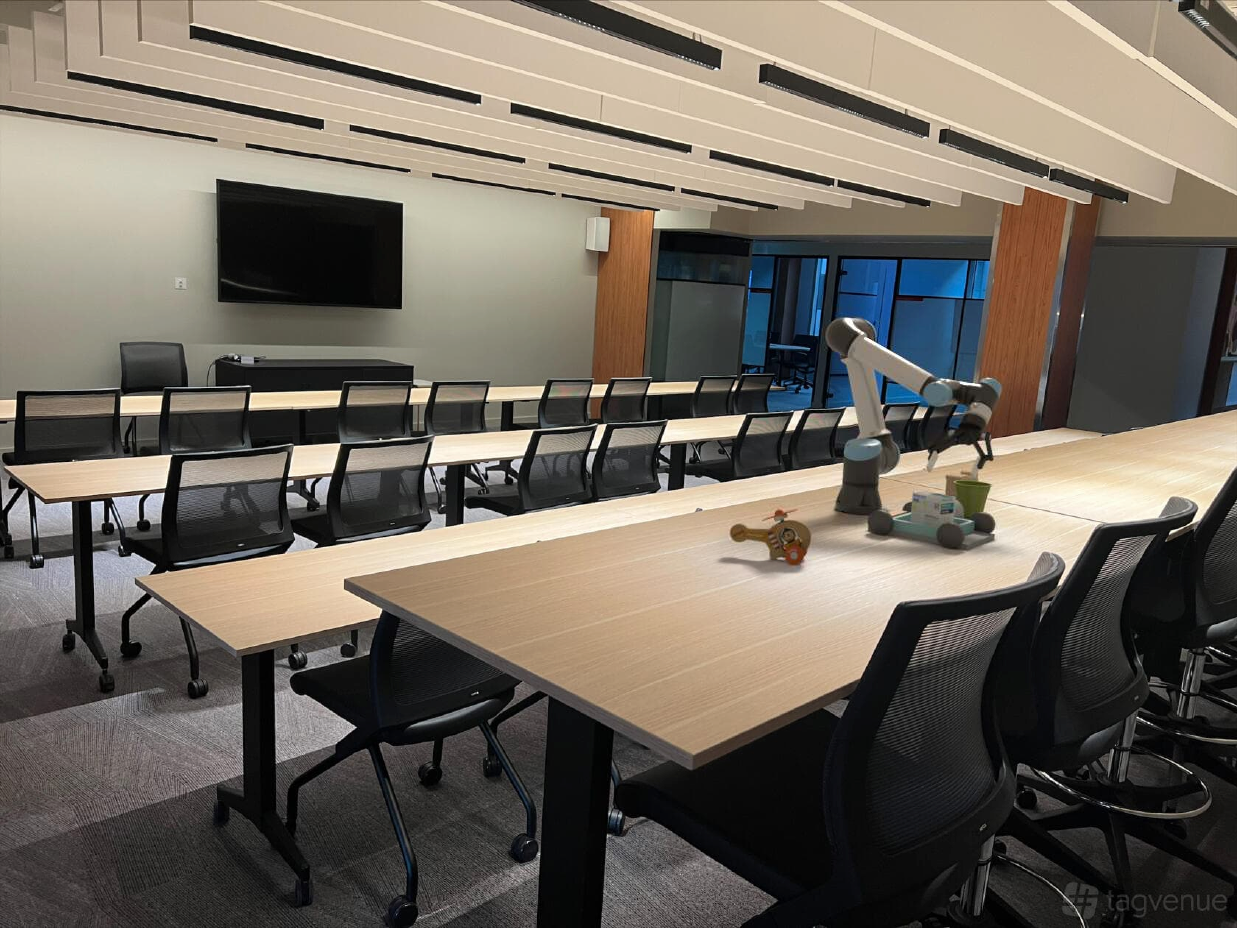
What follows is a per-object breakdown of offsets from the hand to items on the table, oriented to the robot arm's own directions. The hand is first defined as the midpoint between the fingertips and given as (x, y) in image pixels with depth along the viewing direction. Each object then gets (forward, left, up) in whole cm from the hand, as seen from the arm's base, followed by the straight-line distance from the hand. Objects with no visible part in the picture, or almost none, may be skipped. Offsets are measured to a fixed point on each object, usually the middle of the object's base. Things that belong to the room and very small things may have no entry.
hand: (949, 472), depth 274 cm
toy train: (-17, +54, -18) cm, 59 cm away
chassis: (0, -10, -18) cm, 20 cm away
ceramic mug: (-2, +9, -18) cm, 20 cm away
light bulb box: (0, -10, -16) cm, 19 cm away
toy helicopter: (-15, -71, -18) cm, 75 cm away
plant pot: (-3, +27, -18) cm, 32 cm away
